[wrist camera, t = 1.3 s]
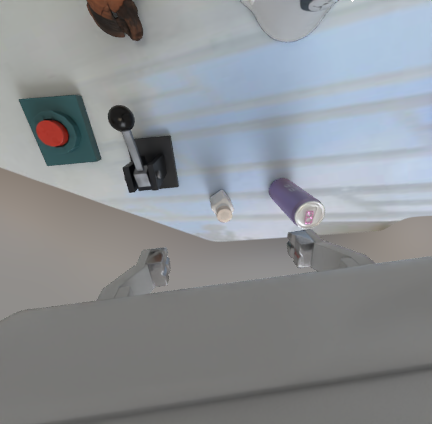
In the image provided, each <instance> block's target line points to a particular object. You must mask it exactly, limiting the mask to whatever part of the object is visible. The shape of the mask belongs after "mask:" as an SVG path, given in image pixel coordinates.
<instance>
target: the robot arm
mask: <svg viewBox="0 0 432 424" xmlns="http://www.w3.org/2000/svg"><path fill="white" fill-rule="evenodd" d="M240 1H241V2H242V3H243V4H244V5H245V6H246V7H248V8H249V9H250V10H251V11H252V12H253V14H254V15H255V17H256V19H257V21H258V23H259V25H260V26H261V28H262V29H263V30H264V31H265V32H266V33H267V34H268V35H269V36H270V37H272V38H273V39H275V40H278V41H281V42H293V41H297V40H300V39H302V38H304V37H306V36H307V35H309V34H310V33H311V32H312V31H313V30H314V29H315V28H316V27H317V26H318V25H319V23H320V22H321V20H322V19H323V17H324V16H325V14H326V13H327V12H328V10H329V9H330V8H331V7H332V5H333V4H334V3H336V2H337V1H339V0H240ZM351 1H353V0H351ZM287 238H288V239H289V242H288V243H287V251H288V254H289V256H290V257H291V258H293V262H294V263H295V265H296V266H297V268H303V267H311V268H313V269H314V270H316V272H309V273H302V274H294V275H286V276H279V277H271V278H263V279H256V280H249V281H241V282H233V283H226V284H218V285H211V286H203V287H196V288H188V289H180V290H173V291H165V292H158V293H150V292H151V291H152V290H153V289H154V287H160V286H166V285H168V281H169V275H168V274H169V273H170V259H169V258H168V257H167V256H168V251H167V248H156V249H147V250H143V251H142V252H141V255H140V257H139V260H138V262H137V264H136V266H133V267H132V268H130V269H129V270H127V271H126V272H125V273H123V274H122V275H121V276H119V277H118V278H117V279H115V280H114V281H113V282H111V283H110V284H109V285H107V286H106V287H105V288H103V290H102V291H101V293H100V295H99V297H98V299H97V300H96V301H90V302H82V303H75V304H68V305H60V306H52V307H46V308H36V309H27V310H23V311H19V312H17V313H14V314H12V315H10V316H9V317H6V318H5V319H3V320H1V321H0V424H432V256H430V257H422V258H415V259H407V260H400V261H392V262H384V263H377V264H376V263H374V262H373V261H372V260H371V259H370V258H368V257H367V256H366V255H364V254H362V253H359V252H356V251H353V250H350V249H347V248H345V247H341V246H339V245H336V244H333V243H330V242H327V241H325V242H324V241H323V240H322V239H321V238H320V237H319V236H318V235H317V234H316V233H315V232H314V231H313V230H312V229H307V230H302V231H295V232H288V236H287Z"/></svg>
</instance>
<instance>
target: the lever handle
mask: <svg viewBox="0 0 432 424" xmlns="http://www.w3.org/2000/svg"><path fill="white" fill-rule="evenodd" d="M108 120H109V123H110V124H111V126H112V127H113V128H114V129H116V130H118V131H121V132H122V134H123V137H124V139H125V142H126V145H127V147H128V150H129V152H130V155H131V157H132V160H133V162H134V165H135V171H134V174H133V175H134V177H135V180H136V182H137V184H138V187H146V186H151V181H150V177H149V172H148V168H147V165H146V166H144V165H143V163H142V160H141V157H140V154H139V151H138V149H137V146H136V143H135V140H134V138H133V135H132V132H131V129H132V128H133V126H134V123H135V119H134V115H133V113H132V112H131V111H130V110H129V109H128V108H127V107H125V106H122V105H116V106H113V107H112V108H111V109H110V110H109V112H108Z"/></svg>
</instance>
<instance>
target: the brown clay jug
mask: <svg viewBox="0 0 432 424" xmlns="http://www.w3.org/2000/svg"><path fill="white" fill-rule="evenodd" d="M87 2H88V3H87V8H88V11H89V13H90V14H91V16H92V17H93V19H94V20H95V22H96V24H97V25H98V26H99V27H100V28H101V29H102V30H103V31H104V32H106V33H107V34H109V35H112V36H114V37H125V35H124V33H126V34H128V35H129V36H130V38H131V39H132V40H135V41H139V40H140V39H141V38H142V36H143V28H142V24H141V22H140V19H139V17H138V13H137V7H136V6H135V4H134V2H133V1H132V0H87ZM112 12H114V13H117V16H118V17H117V18H115V17H114V15H113V13H112Z"/></svg>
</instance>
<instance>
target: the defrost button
mask: <svg viewBox="0 0 432 424" xmlns="http://www.w3.org/2000/svg"><path fill="white" fill-rule="evenodd" d="M36 132H37V135H38V137H39V139H40V140H41V141H42V142H43V143H45V144H46V145H49V146H53V147H55V146H60V145H64V144H65V143H66V142H67V141H68V137H69V136H68V132H67V130H66V128H65V127H64V126H63V125H62V124H61V123H59V122H57V121H54V120H44V121H41V122H39V123H38V125H37V127H36Z"/></svg>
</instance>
